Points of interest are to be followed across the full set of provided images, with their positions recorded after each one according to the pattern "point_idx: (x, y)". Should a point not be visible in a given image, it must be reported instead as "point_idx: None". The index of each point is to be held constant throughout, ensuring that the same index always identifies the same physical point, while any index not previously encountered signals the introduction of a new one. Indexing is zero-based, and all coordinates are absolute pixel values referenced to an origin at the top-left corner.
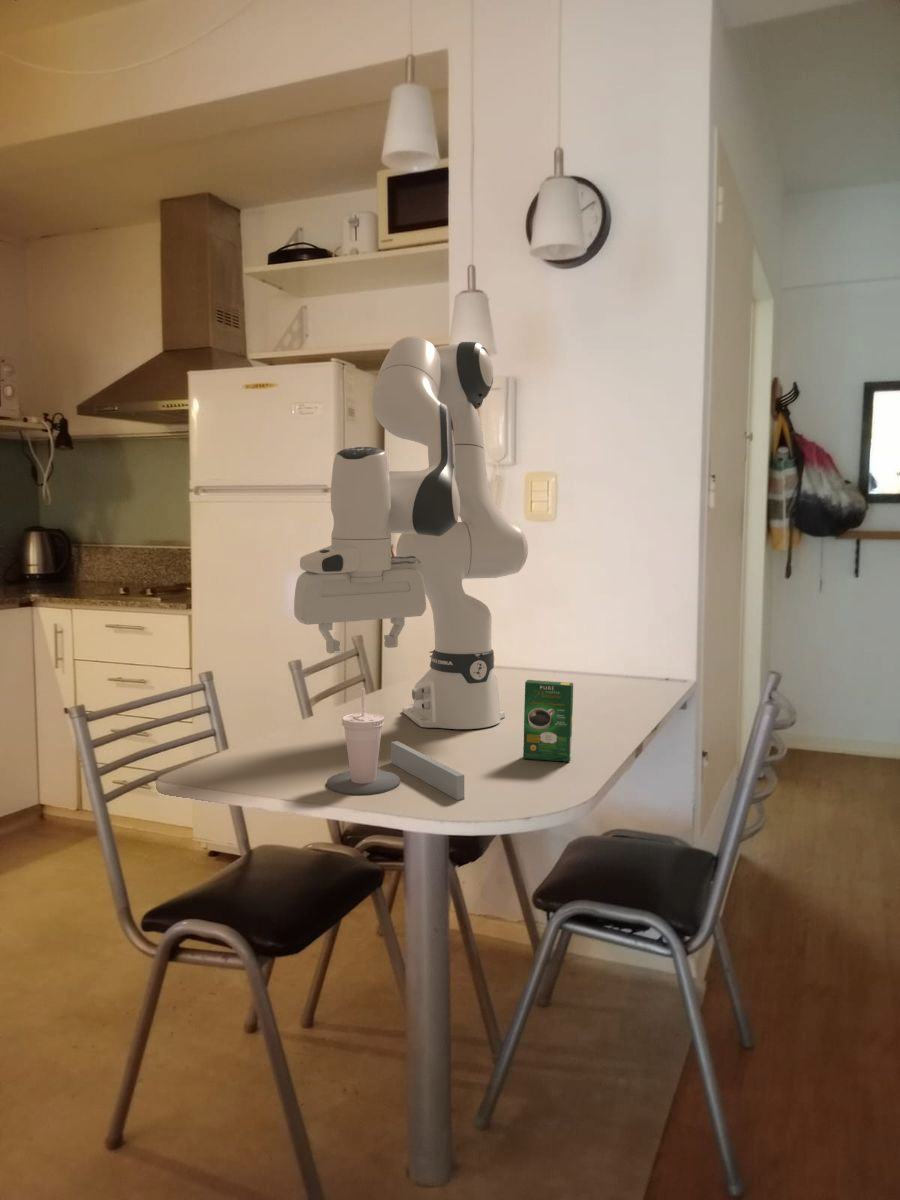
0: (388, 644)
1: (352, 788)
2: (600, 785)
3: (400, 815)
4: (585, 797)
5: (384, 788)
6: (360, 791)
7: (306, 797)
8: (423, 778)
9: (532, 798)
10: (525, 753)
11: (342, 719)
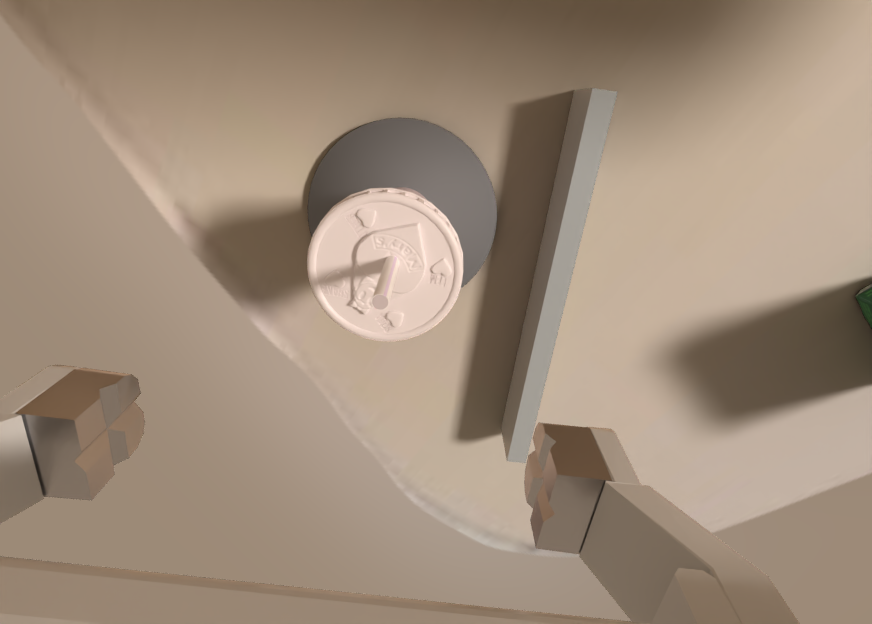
0: (528, 489)
1: None
2: (776, 509)
3: (361, 431)
4: None
5: None
6: None
7: (236, 229)
8: (532, 292)
9: None
10: (867, 306)
11: (310, 244)
